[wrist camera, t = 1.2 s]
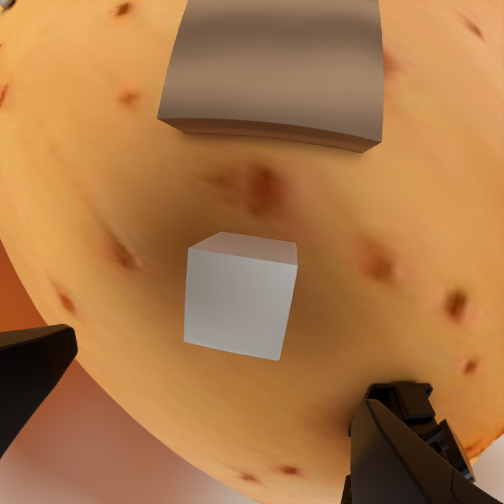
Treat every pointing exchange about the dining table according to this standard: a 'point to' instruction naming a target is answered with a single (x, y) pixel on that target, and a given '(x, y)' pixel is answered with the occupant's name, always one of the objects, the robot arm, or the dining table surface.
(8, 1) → the chubby cartoon animal
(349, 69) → the walnut block
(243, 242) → the grey-blue block
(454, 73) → the dining table surface
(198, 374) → the dining table surface
